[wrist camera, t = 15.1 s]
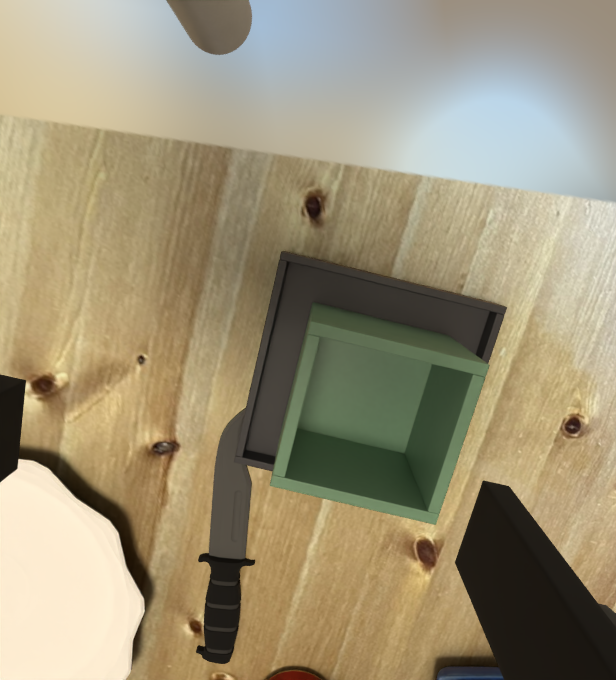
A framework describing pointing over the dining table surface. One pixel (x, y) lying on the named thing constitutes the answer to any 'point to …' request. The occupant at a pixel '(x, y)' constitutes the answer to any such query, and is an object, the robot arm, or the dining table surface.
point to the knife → (226, 547)
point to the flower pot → (470, 673)
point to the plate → (62, 584)
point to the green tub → (376, 414)
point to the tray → (353, 295)
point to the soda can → (294, 675)
